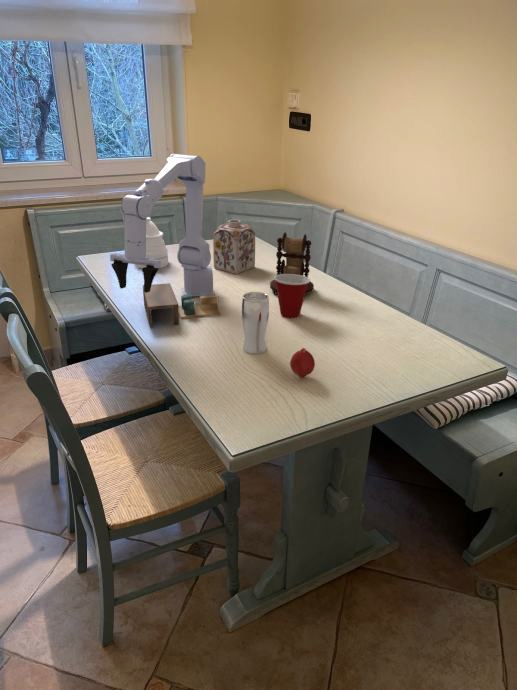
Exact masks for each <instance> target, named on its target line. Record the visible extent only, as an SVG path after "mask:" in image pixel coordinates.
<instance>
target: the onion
mask: <svg viewBox="0 0 517 690" xmlns="http://www.w3.org/2000/svg"><path fill="white" fill-rule="evenodd" d="M289 361H290V363H289V366H290V369H291V371H292V372H293V373H294V374H295V375H296V376H298V377H299V378H302V379H303V378H306V377H307V376H309V375H310V374H312V372H313V371H314V369H315V367H316V365H315V364H316V363H315V358H314V357H313V355H312V354H311V353H310V352H309V351H308V350H306V348H305V347H302V348H301V349H299V350H297V351H296V352H294V353H293V355H292V356H291V359H290V360H289Z"/></svg>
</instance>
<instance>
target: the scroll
mask: <svg viewBox="0 0 517 690" xmlns="http://www.w3.org/2000/svg"><path fill="white" fill-rule="evenodd" d="M307 239H308V237H307V234H306V233H304V234H303V238H297V237H288V236H287V232H285V231H284V232H283V234H282V237H278V238H277V239H276V243H277V251H276V253H275V254H276V259H277V260H276V267H275V269H276V275H275V276H277V275H280V274H296V275H302V276H305V277H308V278H309V273H310V268H309V267H310V260H311V250H310V248H311V246H312V241H311V239H309V240H307ZM282 250H283V252H284V253H283V252H282ZM282 258H285V259H286V260H285V259H282ZM281 259H282V260H281ZM269 287H270V289H271V291H272V293H273V295H274V296H275V295H276V294H278V292H277V286H276V281H275V279H273V280H271V281H270V283H269ZM314 287H315V285H314V282H312V281H310V282H309V283H308V286H307V289H306V292H305V295H307V294H310V293H312V292H313V291H314Z"/></svg>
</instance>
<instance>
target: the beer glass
mask: <svg viewBox="0 0 517 690" xmlns="http://www.w3.org/2000/svg"><path fill="white" fill-rule="evenodd" d="M269 299H270V298H269V295H268V294H267V293H265V292H262V291H249V292H245V293H243V295H242V301H241V302H242V303H241V320H242V327H243V331H244V340H243V341H244V342H243V346H242V349H243V351H244V352H245V353H247V354H250V355H259V354H264V353H265V352H266V350H267V345H266V339H265V338H266V331H267V327H268V323H269V316H270V303H269V301H270V300H269Z"/></svg>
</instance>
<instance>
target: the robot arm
mask: <svg viewBox="0 0 517 690" xmlns="http://www.w3.org/2000/svg"><path fill="white" fill-rule="evenodd" d="M176 179H177V180H179V181H181V182H182V184H183V185H184V186H185V237H184V238H182V240H180V241H179V242H178V250H177V252H176V253H177V255H176V257H177V258H176V259H177V261H178V263H179V264H181V265H180V266H181V267H182V268H183V287H181V290H182V293H183V295H186V294H187V295H191V296H192V298H193V297H200V296H207V295H215V293H214V273H213V272H214V271H213V268H212V266H211V265H210V264H211V260H212V255H211V250H210V243H209V242H208V241H206V240H205V238H203V217H204V215H203V212H204V211H203V209H204V207H203V206H204V184H205V183H206V162H205V160H204V159H203V158H202V156H201V155H189V154H180V153H171V154H170V155H169V157H167V158H166V162H165V165H164V167H163V168H162V169H161V171H159V173H158V174H157V175H156V176H155V178H147V179H146V178H145V180H144V182H143V183H142V184H141V185H140V186H139V187H138V188H137V189H135V190H134V192H133V193H132V194H127V195H125V196H124V197H123V198H122V200H121V202H120V205H119V210H120V213H121V215H122V221H123V223H124V253H110V254H109V255H110V257H109V258H110V259H109V260H110V262H112V263H111V268H112V269H113V271H114V272H115V275H116V278H117V281H118V284H119V285H118V286H119V288H120V289H125V288H127V273H128V268H129V264H132V265H135V264H137V265H144V266H146V267H144V268H141V270H142V274H143V285H144V292H145V293H147V292H150V289H151V285H153V282H154V278H155V277H156V275H157V273H158V272H159V269H160V268H159V267H161V260H156V259H152V258H148V257H146V225H147V218H148V217H149V218H150V216H151V214H152V210H153V208H154V206H155V204H157V202H158V201H159V200H160V199H161V198H162V197H163V195H164V189H165V188H166V187H168V186H169V184H171V183H172V182H173V181H174V180H176ZM139 262H140V263H139ZM161 268H162V267H161Z"/></svg>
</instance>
